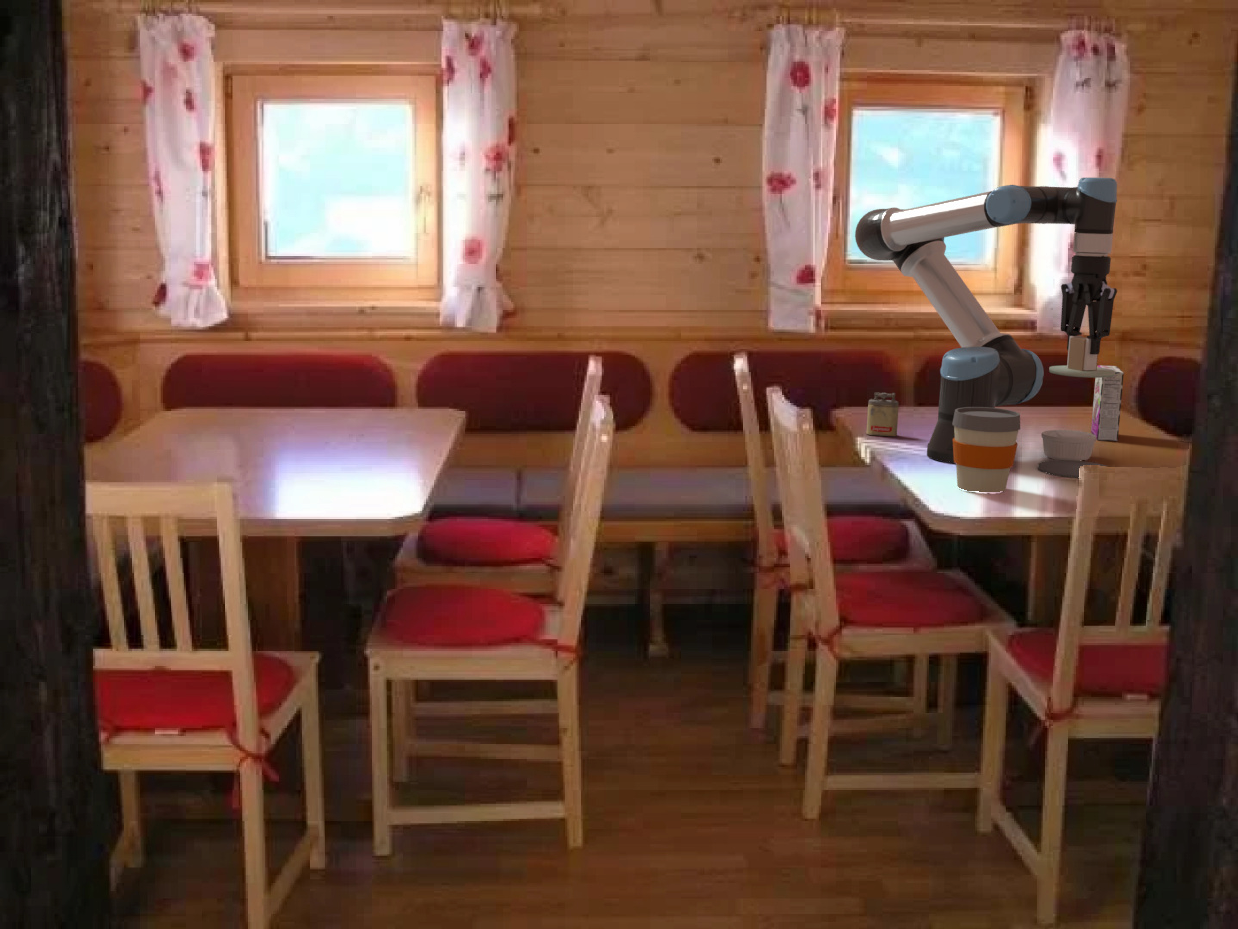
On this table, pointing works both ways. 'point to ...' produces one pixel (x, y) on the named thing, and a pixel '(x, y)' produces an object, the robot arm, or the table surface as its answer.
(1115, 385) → the candy bar box
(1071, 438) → the ramekin
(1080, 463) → the trivet
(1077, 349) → the lid
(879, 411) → the lighter
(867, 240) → the robot arm
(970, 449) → the reusable coffee cup
